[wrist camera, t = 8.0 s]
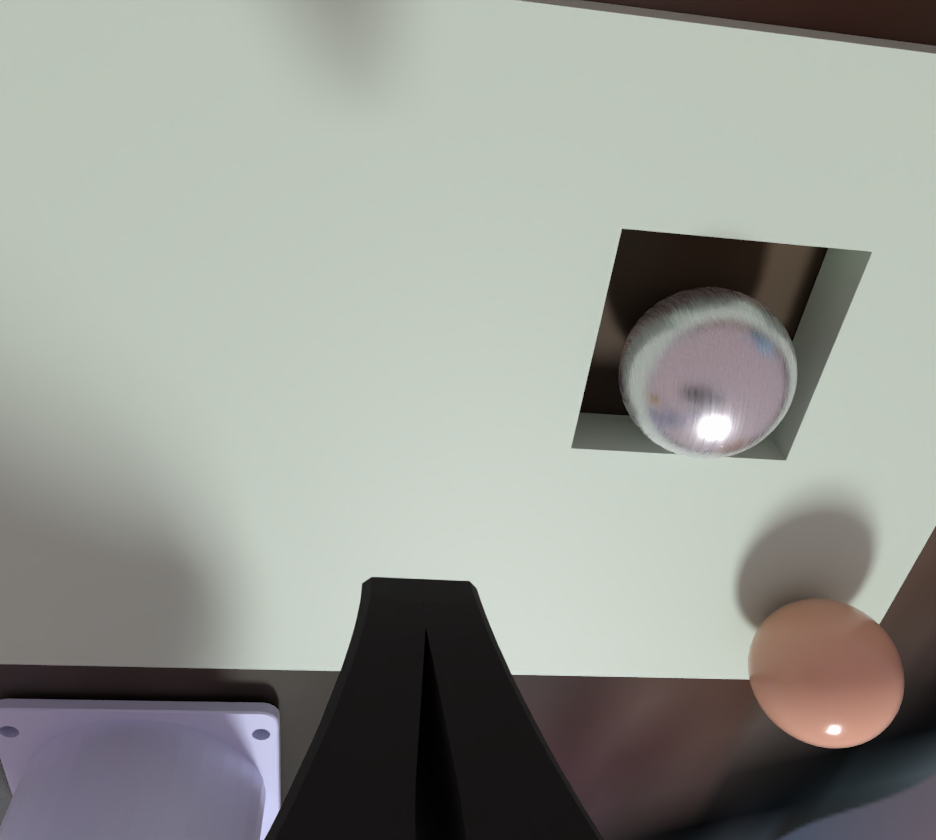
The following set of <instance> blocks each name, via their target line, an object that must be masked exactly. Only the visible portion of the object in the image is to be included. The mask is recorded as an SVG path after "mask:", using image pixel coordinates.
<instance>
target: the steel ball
mask: <svg viewBox="0 0 936 840" xmlns="http://www.w3.org/2000/svg"><path fill="white" fill-rule="evenodd" d="M618 375H619V387H620V392H621V396H622V399H623V403H624V405H625V407H626V409H627V411H628V413H629V415H630V417H631V419H632V420H633V421H634V423H635V424H636V426H637V427H638V428H639V429H640V430H641V431H642V432H643V433H644V434H645V435H646V436H647V437H648V438H649V439H650V440H652V441H653V442H654V443H656V444H657V445H659V446H661V447H663V448H664V449H666V450H668V451H671V452H673V453H676V454H678V455H682V456H686V457H691V458H700V459H715V458H721V457H727V456H731V455H734V454H738V453H740V452H743V451H745V450H747V449H749V448H751V447H753V446H755V445H756V444H758V443H759V442H761V441H762V440H763V439H765V438H766V437H767V436H768V435H769V434H770V433H771V432H772V431H773V430H774V429H775V428H776V427H777V426H778V424H779V423H780V422H781V421H782V419H783V418H784V416H785V414H786V413H787V411H788V409H789V407H790V405H791V403H792V400H793V397H794V393H795V390H796V385H797V359H796V353H795V349H794V346H793V343H792V341H791V339H790V337H789V334H788V332H787V330H786V329H785V327H784V326H783V324H782V323H781V322H780V320H779V319H778V318H777V317H776V315H775V314H774V313H772V312H771V311H770V310H769V309H768V308H767V307H766V306H765V305H763V304H762V303H760V302H759V301H757V300H756V299H754V298H752V297H750V296H748V295H746V294H743V293H741V292H737V291H734V290H730V289H726V288H718V287H701V288H694V289H688V290H685V291H681V292H678V293H676V294H674V295H671V296H669V297H667V298H665V299H663V300H661V301H660V302H658V303H657V304H655V305H654V306H653V307H652V308H650V309H649V310H648V311H647V312H646V313H645V314H644V315H643V316H642V317H641V318H640V319H639V320H638V321H637V323H636V324H635V325H634V327H633V328H632V330H631V331H630V333H629V335H628V337H627V339H626V341H625V343H624V346H623V349H622V353H621V356H620V362H619V374H618Z"/></svg>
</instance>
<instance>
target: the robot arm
mask: <svg viewBox="0 0 936 840" xmlns="http://www.w3.org/2000/svg"><path fill="white" fill-rule="evenodd" d="M0 759H1V762H2V765H3V768H4V771H5V774H6V777H7V780H8V783H9V786H10V789H11V792H12V795H13V798H12V800H11V802H10V805H9V807H8V810H7V812H6V814H5V817H4V819H3V821H2V824H1V826H0V840H604V839H603V837H602V836H601V834H600V833H599V831H598V830H597V828H596V826H595V825H594V823H593V822H592V820H591V818H590V817H589V815H588V814H587V812H586V810H585V809H584V807H583V805H582V804H581V802H580V800H579V799H578V797H577V795H576V794H575V792H574V790H573V789H572V787H571V785H570V783H569V782H568V780H567V778H566V777H565V775H564V773H563V772H562V770H561V768H560V766H559V765H558V763H557V761H556V759H555V757H554V756H553V754H552V752H551V750H550V748H549V747H548V745H547V743H546V741H545V739H544V737H543V735H542V734H541V732H540V730H539V728H538V726H537V724H536V722H535V720H534V718H533V716H532V714H531V712H530V710H529V708H528V707H527V705H526V703H525V701H524V699H523V697H522V695H521V693H520V691H519V689H518V687H517V685H516V683H515V681H514V678H513V676H512V674H511V672H510V670H509V668H508V665H507V663H506V661H505V659H504V657H503V654H502V652H501V650H500V648H499V646H498V643H497V641H496V638H495V636H494V634H493V631H492V629H491V626H490V624H489V621H488V619H487V616H486V614H485V611H484V608H483V606H482V603H481V600H480V597H479V594H478V591H477V588H476V587H475V586H474V585H473V584H472V583H471V582H470V581H456V580H433V579H410V578H387V577H371V578H369V579H368V580H366V581H365V582H363V583H362V589H361V599H360V605H359V609H358V614H357V619H356V623H355V627H354V630H353V634H352V637H351V641H350V644H349V647H348V650H347V653H346V656H345V659H344V662H343V665H342V668H341V671H340V674H339V676H338V679H337V681H336V684H335V687H334V689H333V692H332V694H331V697H330V699H329V702H328V704H327V707H326V710H325V712H324V715H323V717H322V720H321V722H320V725H319V727H318V729H317V732H316V734H315V736H314V738H313V741H312V743H311V745H310V747H309V749H308V751H307V753H306V756H305V758H304V760H303V762H302V764H301V766H300V768H299V771H298V773H297V775H296V777H295V779H294V781H293V783H292V785H291V788H290V790H289V792H288V794H287V796H286V798H285V800H284V802H283V804H282V806H281V771H280V713H279V710H278V709H277V708H276V707H275V706H274V705H271V704H269V703H263V702H200V701H135V700H69V699H1V700H0Z"/></svg>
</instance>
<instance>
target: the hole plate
mask: <svg viewBox="0 0 936 840" xmlns="http://www.w3.org/2000/svg"><path fill="white" fill-rule="evenodd" d="M622 229H632V230H643V231H654V232H665V233H675V234H686V235H697V236H708V237H718V238H729V239H740V240H751V241H761V242H772V243H783V244H794V245H804V246H815V247H826V248H828V250H827V252H826V255H825V258H824V260H823V263H822V265H821V268H820V271H819V273H818V276H817V278H816V281H815V284H814V286H813V289H812V292H811V294H810V297H809V299H808V302H807V305H806V307H805V310H804V313H803V315H802V318H801V320H800V323H799V326H798V328H797V331H796V334H795V336H794V339H793V341H792V343H793V346H794V349H795V353H796V359H797V385H796V390H795V393H794V397H793V400H792V403H791V405H790V407H789V409H788V411H787V413H786V414H785V416H784V418H783V419H782V421H781V422H780V423H779V424H778V426H777V427H776V428H775V429H774V430H773V431H772V432H771V433H770V434H769V435H768V436H767V437H766V438H765V439H763V440H762V441H761V442H759V443H758V444H756V445H755V446H753V447H751V448H749V449H747V450H745V451H743V452H740V453H738V454H734V455H731V456H727V457H721V458H715V459H700V458H691V457H686V456H682V455H678V454H676V453H673V452H671V451H668V450H666V449H664V448H663V447H661V446H659V445H657V444H656V443H654V442H653V441H652V440H650V439H649V438H648V437H647V436H646V435H645V434H644V433H643V432H642V431H641V430H640V429H639V428H638V427H637V426H636V424H635V423H634V421H633V420H632V419H631V417H630V416H627V415H611V414H596V413H580V408H581V403H582V399H583V395H584V390H585V386H586V382H587V377H588V373H589V369H590V364H591V360H592V356H593V352H594V347H595V343H596V339H597V334H598V330H599V326H600V321H601V317H602V313H603V308H604V304H605V300H606V295H607V291H608V287H609V282H610V278H611V274H612V269H613V265H614V261H615V256H616V252H617V248H618V244H619V239H620V235H621V231H622ZM935 526H936V46H933V45H925V44H917V43H910V42H902V41H894V40H886V39H879V38H871V37H863V36H855V35H848V34H840V33H832V32H824V31H817V30H809V29H801V28H793V27H786V26H778V25H770V24H762V23H755V22H747V21H739V20H732V19H724V18H716V17H708V16H701V15H693V14H685V13H677V12H670V11H662V10H654V9H646V8H639V7H631V6H623V5H615V4H608V3H600V2H592V1H584V0H0V664H21V665H70V666H119V667H168V668H217V669H266V670H315V671H341V668H342V665H343V662H344V659H345V656H346V653H347V650H348V647H349V644H350V641H351V637H352V634H353V630H354V627H355V623H356V619H357V614H358V609H359V605H360V599H361V589H362V583H363V582H365V581H366V580H368V579H369V578H371V577H387V578H410V579H433V580H456V581H470V582H471V583H472V584H473V585H474V586H475V587H476V588H477V591H478V594H479V597H480V600H481V603H482V606H483V608H484V611H485V614H486V616H487V619H488V621H489V624H490V626H491V629H492V631H493V634H494V636H495V638H496V641H497V643H498V646H499V648H500V650H501V652H502V654H503V657H504V659H505V661H506V663H507V665H508V668H509V670H510V672H511V674H512V675H561V676H610V677H659V678H708V679H749V674H748V655H749V649H750V645H751V642H752V640H753V637H754V635H755V633H756V631H757V629H758V628H759V626H760V625H761V624H762V622H763V621H764V620H765V619H766V618H767V617H768V616H769V615H770V614H772V613H773V612H774V611H776V610H777V609H779V608H780V607H782V606H784V605H786V604H788V603H791V602H794V601H798V600H803V599H811V598H823V599H831V600H836V601H839V602H842V603H845V604H848V605H851V606H853V607H855V608H857V609H859V610H861V611H862V612H864V613H865V614H867V615H868V616H869V617H871V618H872V619H873V620H875V621H876V622H877V623H878V624H880V622H881V620H882V619H883V617H884V615H885V613H886V612H887V610H888V608H889V606H890V605H891V603H892V601H893V599H894V598H895V596H896V594H897V592H898V591H899V589H900V587H901V585H902V584H903V582H904V580H905V578H906V577H907V575H908V573H909V571H910V570H911V568H912V566H913V564H914V563H915V561H916V559H917V557H918V556H919V554H920V552H921V550H922V549H923V547H924V545H925V543H926V542H927V540H928V538H929V536H930V535H931V533H932V531H933V529H934V528H935Z"/></svg>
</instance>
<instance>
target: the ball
mask: <svg viewBox="0 0 936 840" xmlns="http://www.w3.org/2000/svg"><path fill="white" fill-rule="evenodd" d="M748 674H749V679H750V683H751V687H752V690H753V692H754V695H755V697H756V699H757V701H758V703H759V704H760V706H761V708H762V709H763V710H764V712H765V713H766V714H767V716H768V717H769V718H770V719H771V720H772V721H773V722H774V723H775V724H776V725H777V726H778V727H780V728H781V729H782V730H783V731H785V732H786V733H788V734H789V735H791V736H793V737H795V738H796V739H798V740H801V741H803V742H806V743H808V744H811V745H815V746H820V747H825V748H846V747H852V746H856V745H859V744H862V743H865V742H867V741H869V740H871V739H873V738H874V737H876V736H877V735H879V734H880V733H881V732H882V731H883V730H884V729H886V728H887V727H888V726H889V724H890V723H891V722H892V720H893V719H894V717H895V716H896V714H897V712H898V710H899V707H900V705H901V702H902V699H903V692H904V671H903V666H902V662H901V659H900V656H899V654H898V651H897V649H896V647H895V645H894V644H893V642H892V640H891V638H890V637H889V636H888V634H887V633H886V632H885V631H884V629H883V628H882V627H881V626H880V625H879V624H878V623H877V622H876V621H875V620H873V619H872V618H871V617H869V616H868V615H867V614H865V613H864V612H862V611H861V610H859V609H857V608H855V607H853V606H851V605H848V604H845V603H842V602H839V601H836V600H831V599H823V598H811V599H803V600H798V601H794V602H791V603H788V604H786V605H784V606H782V607H780V608H779V609H777V610H776V611H774V612H773V613H772V614H770V615H769V616H768V617H767V618H766V619H765V620H764V621H763V622H762V624H761V625H760V626H759V628H758V629H757V631H756V633H755V635H754V637H753V640H752V642H751V645H750V649H749V655H748Z"/></svg>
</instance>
